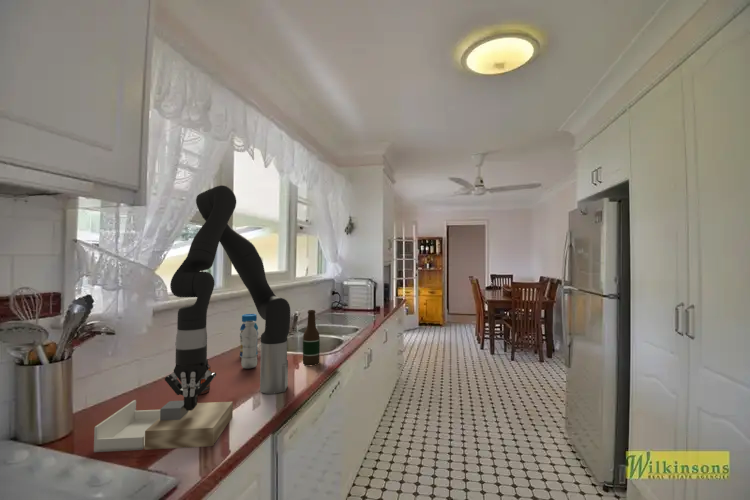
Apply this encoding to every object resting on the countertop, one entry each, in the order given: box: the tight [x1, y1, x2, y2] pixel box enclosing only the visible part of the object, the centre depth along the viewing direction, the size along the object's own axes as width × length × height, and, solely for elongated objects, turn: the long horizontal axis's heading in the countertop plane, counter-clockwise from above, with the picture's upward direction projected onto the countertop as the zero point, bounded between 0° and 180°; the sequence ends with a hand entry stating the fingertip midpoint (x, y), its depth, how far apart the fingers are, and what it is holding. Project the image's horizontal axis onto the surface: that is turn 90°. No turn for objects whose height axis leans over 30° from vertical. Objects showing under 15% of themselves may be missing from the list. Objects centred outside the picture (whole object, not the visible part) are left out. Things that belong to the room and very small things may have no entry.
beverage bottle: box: [239, 313, 259, 359], centre depth 166 cm, size 8×8×20 cm
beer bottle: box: [302, 309, 321, 366], centre depth 154 cm, size 8×8×24 cm
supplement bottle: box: [197, 358, 212, 396], centre depth 120 cm, size 6×6×11 cm
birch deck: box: [144, 401, 234, 450], centre depth 93 cm, size 16×16×4 cm
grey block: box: [159, 400, 188, 421], centre depth 92 cm, size 5×5×3 cm
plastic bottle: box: [240, 321, 258, 370], centre depth 148 cm, size 6×7×20 cm
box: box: [93, 399, 160, 453], centre depth 91 cm, size 11×16×6 cm
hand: (190, 409), depth 92 cm, fingers closed
